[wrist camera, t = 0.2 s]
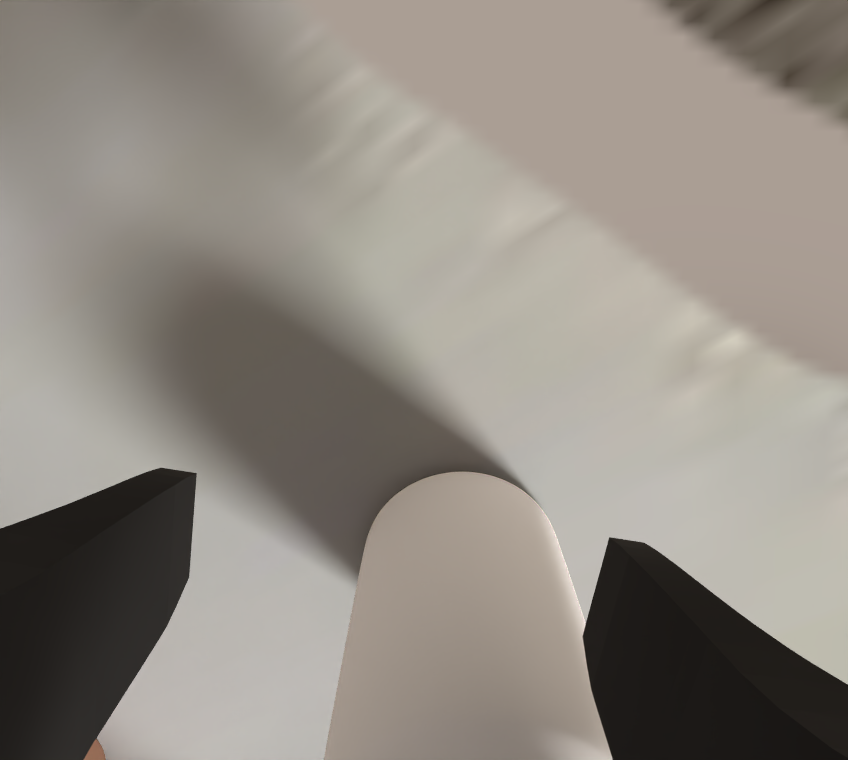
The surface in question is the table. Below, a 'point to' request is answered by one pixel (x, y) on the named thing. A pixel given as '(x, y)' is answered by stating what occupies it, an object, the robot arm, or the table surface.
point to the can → (464, 634)
